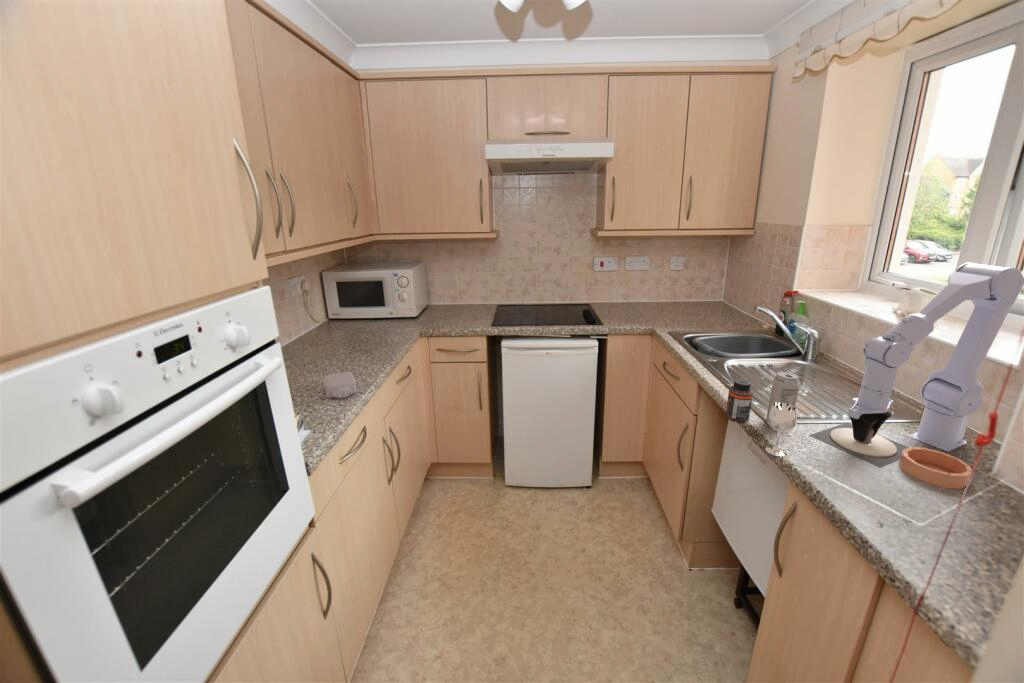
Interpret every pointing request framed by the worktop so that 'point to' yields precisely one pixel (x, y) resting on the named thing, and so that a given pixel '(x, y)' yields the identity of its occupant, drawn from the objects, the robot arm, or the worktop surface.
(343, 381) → the charger
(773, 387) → the energy drink can
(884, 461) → the mat
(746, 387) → the supplement bottle
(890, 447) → the lid
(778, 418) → the wineglass
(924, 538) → the worktop surface
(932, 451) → the bowl
